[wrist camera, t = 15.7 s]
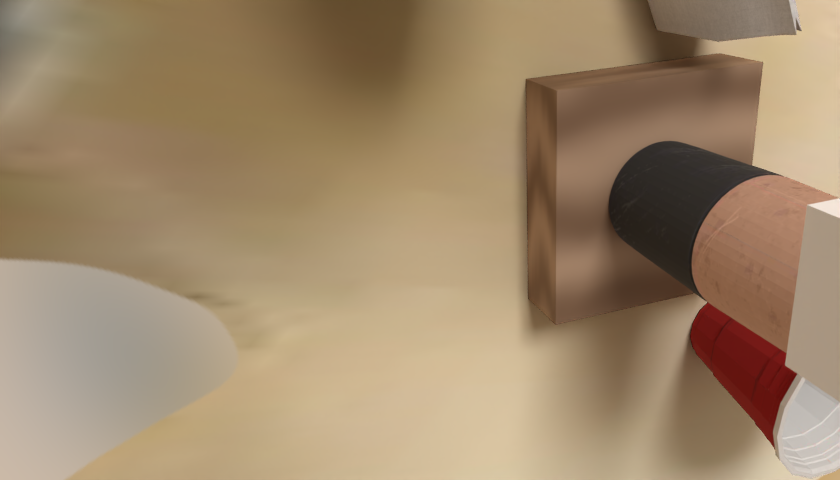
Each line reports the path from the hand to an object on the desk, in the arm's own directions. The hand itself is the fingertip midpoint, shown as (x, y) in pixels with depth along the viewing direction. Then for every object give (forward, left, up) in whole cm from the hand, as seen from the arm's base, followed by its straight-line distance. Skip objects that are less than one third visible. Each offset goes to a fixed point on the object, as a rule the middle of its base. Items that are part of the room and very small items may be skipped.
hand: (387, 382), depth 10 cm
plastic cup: (+25, +35, -35) cm, 55 cm away
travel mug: (+11, +26, -31) cm, 42 cm away
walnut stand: (+12, +26, -35) cm, 45 cm away
